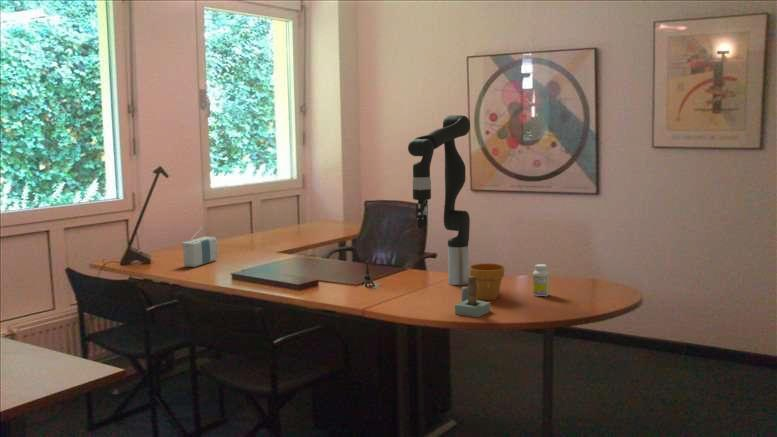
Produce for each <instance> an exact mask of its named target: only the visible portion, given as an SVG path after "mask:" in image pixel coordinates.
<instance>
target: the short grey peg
mask: <svg viewBox="0 0 777 437" xmlns="http://www.w3.org/2000/svg"><path fill="white" fill-rule="evenodd" d="M467 299H468V286H462V287H461V302H463V301H465V300H467Z"/></svg>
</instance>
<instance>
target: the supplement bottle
mask: <svg viewBox="0 0 777 437" xmlns="http://www.w3.org/2000/svg"><path fill="white" fill-rule="evenodd" d="M534 266H535V267H534V269H535V270H534V271H533V272H532V295H533V296H534V295H535V297H538V296H545V297H547V296H550V272H549V271H548V270H547V268H548V267H547V266H548V265H547V264H544V263H543V264H542V263H541V264H540V263H538V264H535V265H534Z"/></svg>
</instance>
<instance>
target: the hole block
mask: <svg viewBox="0 0 777 437" xmlns="http://www.w3.org/2000/svg"><path fill="white" fill-rule="evenodd" d="M489 312H491V302H490V301H483V300H477V305H476V306H473V305H468V299H467V300H465V301H463V302H462V301H461V302H459V303H456V304H455V305H454V313H455V315H459V316H460V315H461V316H469V317H475V318H480V317H482V316H484V315H485V314H487V313H489Z"/></svg>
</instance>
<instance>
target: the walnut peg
mask: <svg viewBox="0 0 777 437" xmlns="http://www.w3.org/2000/svg"><path fill="white" fill-rule="evenodd" d="M467 287H468V305H473V306H476V305H477V301H478V300H477V299H478V298H477V297H476V277H475V276H470V275H469V277H468V284H467Z"/></svg>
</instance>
